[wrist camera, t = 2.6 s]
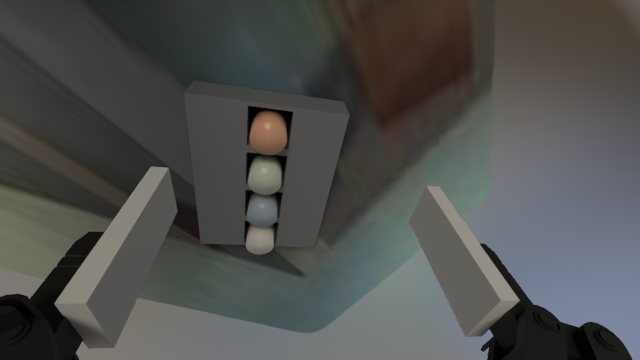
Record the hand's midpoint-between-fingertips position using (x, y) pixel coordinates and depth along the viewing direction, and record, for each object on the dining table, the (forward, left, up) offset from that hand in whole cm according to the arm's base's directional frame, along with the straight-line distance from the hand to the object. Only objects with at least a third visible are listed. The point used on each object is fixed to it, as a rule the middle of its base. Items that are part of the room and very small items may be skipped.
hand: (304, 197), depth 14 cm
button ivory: (-2, -24, -19) cm, 31 cm away
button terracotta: (-2, -6, -19) cm, 20 cm away
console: (-2, -15, -22) cm, 27 cm away
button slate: (-2, -18, -20) cm, 26 cm away
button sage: (-2, -12, -20) cm, 23 cm away
